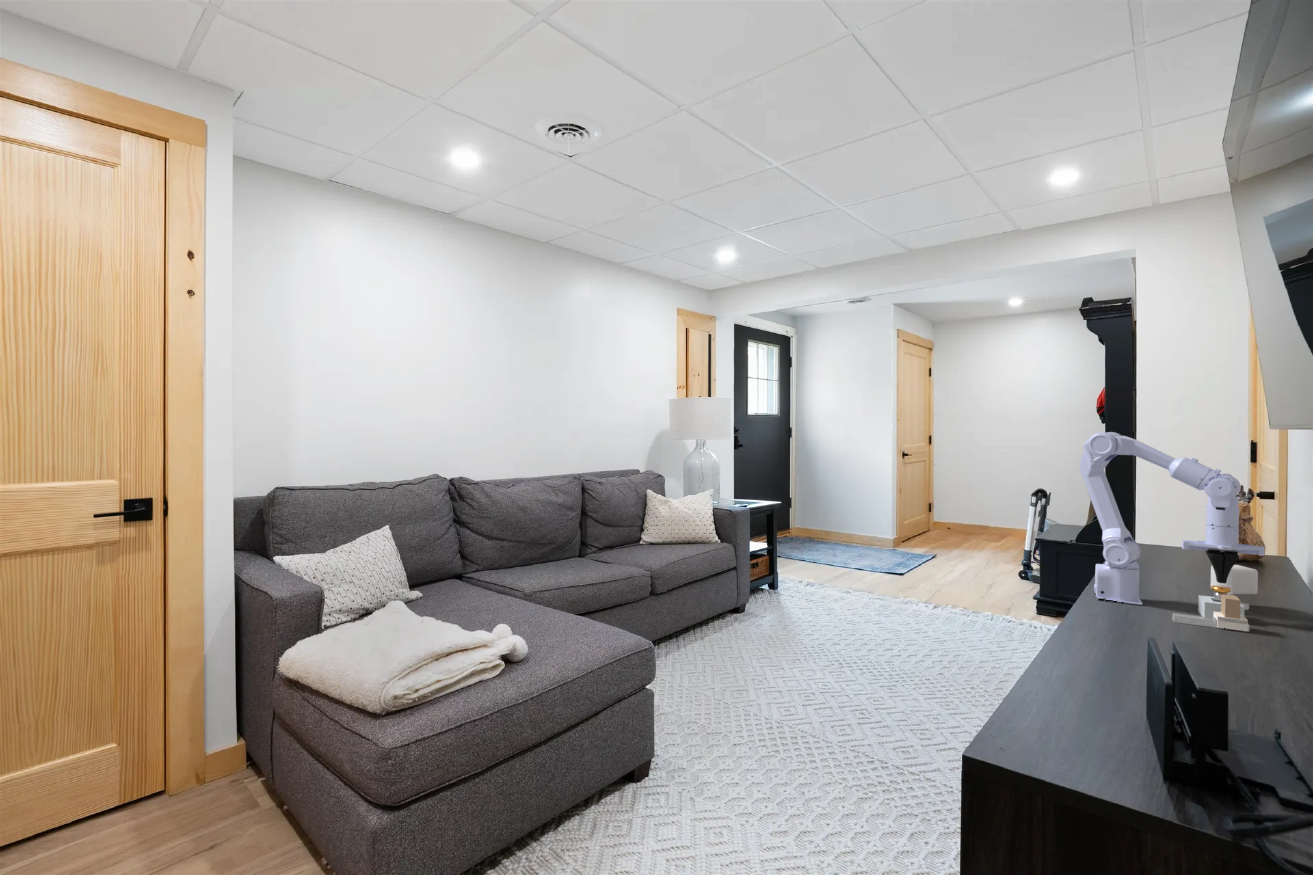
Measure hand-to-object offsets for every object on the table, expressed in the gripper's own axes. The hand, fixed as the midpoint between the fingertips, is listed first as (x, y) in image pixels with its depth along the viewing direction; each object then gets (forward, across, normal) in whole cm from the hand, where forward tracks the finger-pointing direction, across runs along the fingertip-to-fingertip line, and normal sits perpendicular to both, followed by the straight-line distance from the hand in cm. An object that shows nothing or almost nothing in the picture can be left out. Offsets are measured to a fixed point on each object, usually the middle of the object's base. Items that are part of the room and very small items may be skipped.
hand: (1221, 582), depth 148 cm
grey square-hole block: (+8, 0, 0) cm, 8 cm away
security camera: (+9, +4, +13) cm, 16 cm away
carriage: (+8, 0, -9) cm, 12 cm away
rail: (+8, -4, -9) cm, 13 cm away
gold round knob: (+6, 0, 0) cm, 6 cm away
